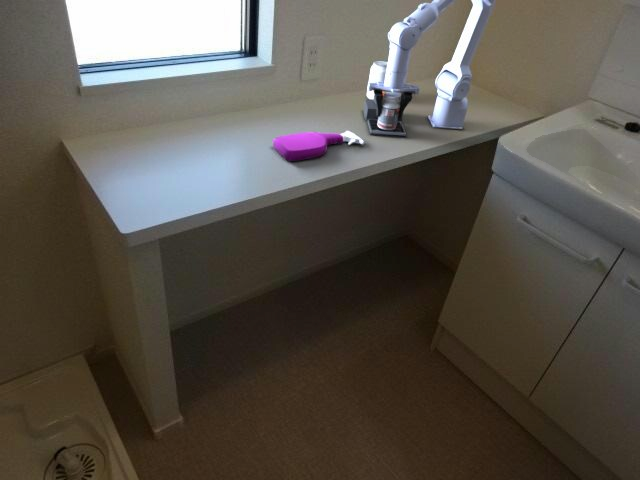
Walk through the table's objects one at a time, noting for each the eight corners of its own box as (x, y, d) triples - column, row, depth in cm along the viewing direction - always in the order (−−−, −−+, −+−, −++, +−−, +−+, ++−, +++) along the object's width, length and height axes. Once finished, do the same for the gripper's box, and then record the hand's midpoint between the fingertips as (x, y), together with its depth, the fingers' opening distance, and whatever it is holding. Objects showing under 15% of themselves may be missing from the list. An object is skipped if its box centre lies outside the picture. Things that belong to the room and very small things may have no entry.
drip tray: (400, 125, 150) (401, 121, 149) (405, 137, 143) (406, 133, 142) (367, 122, 149) (367, 118, 148) (370, 135, 142) (371, 130, 141)
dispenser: (396, 112, 158) (399, 94, 154) (400, 124, 150) (404, 105, 147) (362, 110, 157) (365, 91, 153) (365, 121, 149) (368, 102, 146)
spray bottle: (270, 146, 130) (345, 133, 142) (289, 164, 123) (366, 149, 135) (270, 135, 128) (346, 124, 140) (290, 153, 121) (368, 139, 133)
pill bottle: (396, 131, 143) (403, 99, 137) (377, 129, 143) (383, 97, 137) (394, 123, 147) (401, 91, 141) (376, 122, 147) (381, 90, 141)
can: (380, 104, 162) (386, 68, 154) (362, 98, 165) (367, 62, 158) (391, 99, 167) (398, 64, 159) (373, 93, 170) (379, 58, 163)
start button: (388, 96, 153) (389, 91, 152) (389, 100, 150) (390, 94, 149) (378, 95, 152) (379, 90, 151) (379, 99, 150) (380, 94, 149)
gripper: (372, 72, 131) (365, 119, 139) (425, 76, 132) (414, 123, 140) (370, 64, 137) (363, 110, 145) (420, 68, 138) (410, 113, 146)
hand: (388, 116), depth 143 cm, fingers closed on pill bottle, 5 cm apart
